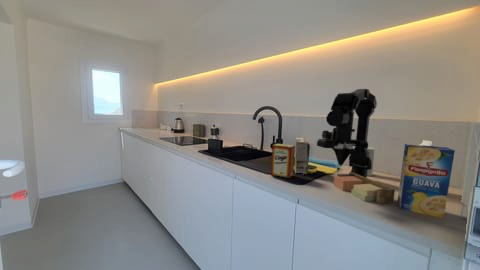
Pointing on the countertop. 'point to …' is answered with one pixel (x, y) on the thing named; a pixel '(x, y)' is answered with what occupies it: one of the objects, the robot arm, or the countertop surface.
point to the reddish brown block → (346, 182)
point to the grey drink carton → (302, 157)
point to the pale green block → (365, 192)
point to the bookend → (343, 175)
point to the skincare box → (371, 151)
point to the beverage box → (425, 179)
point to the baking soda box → (282, 160)
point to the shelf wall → (379, 190)
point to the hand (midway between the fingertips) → (340, 165)
